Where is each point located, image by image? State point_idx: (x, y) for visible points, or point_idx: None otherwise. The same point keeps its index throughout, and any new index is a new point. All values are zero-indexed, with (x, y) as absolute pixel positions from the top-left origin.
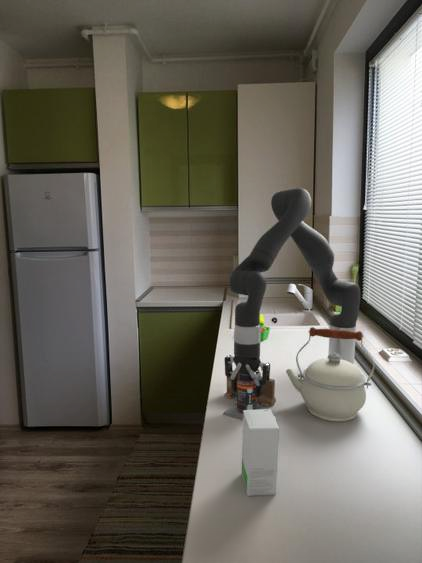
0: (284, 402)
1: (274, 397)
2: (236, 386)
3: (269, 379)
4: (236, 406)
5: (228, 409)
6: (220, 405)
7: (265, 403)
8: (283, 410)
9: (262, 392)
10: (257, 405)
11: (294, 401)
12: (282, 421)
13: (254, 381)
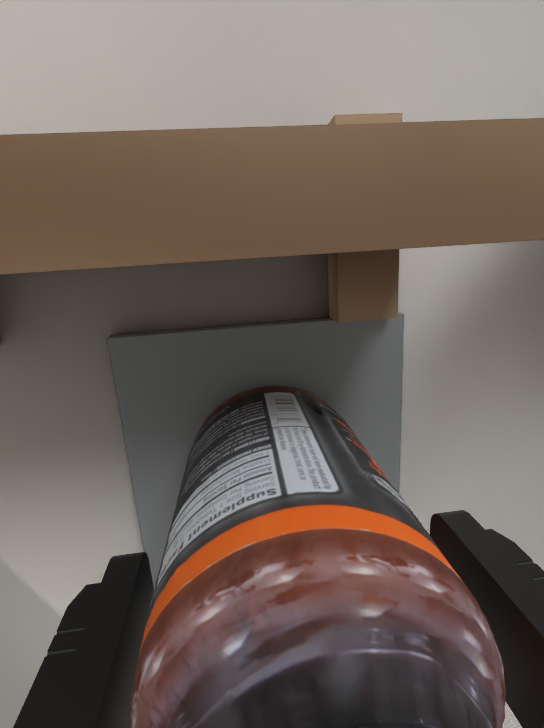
0: (461, 95)
1: (387, 114)
2: (138, 638)
3: (540, 169)
4: (170, 461)
5: (152, 535)
6: (33, 489)
7: (366, 297)
8: (500, 255)
9: (521, 553)
10: (304, 340)
11: (537, 9)
12: (540, 411)
13: (498, 722)
